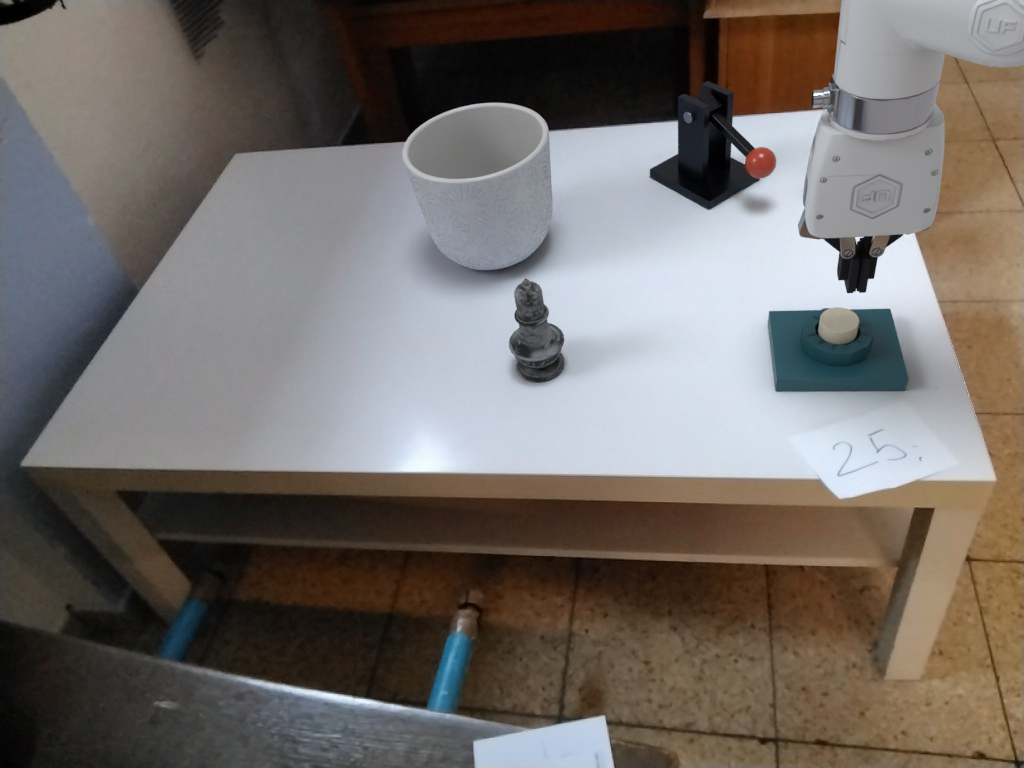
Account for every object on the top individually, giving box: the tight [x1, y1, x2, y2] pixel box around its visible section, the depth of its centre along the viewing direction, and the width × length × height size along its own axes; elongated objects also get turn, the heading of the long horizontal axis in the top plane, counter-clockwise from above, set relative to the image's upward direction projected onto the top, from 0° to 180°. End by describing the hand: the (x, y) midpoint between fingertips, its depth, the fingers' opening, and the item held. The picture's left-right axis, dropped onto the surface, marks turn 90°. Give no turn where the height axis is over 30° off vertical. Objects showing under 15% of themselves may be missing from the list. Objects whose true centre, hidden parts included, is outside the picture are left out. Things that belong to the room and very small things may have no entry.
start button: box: [818, 306, 859, 345], centre depth 81 cm, size 4×4×2 cm
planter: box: [401, 102, 553, 271], centre depth 99 cm, size 17×17×15 cm
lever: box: [693, 90, 777, 180], centre depth 100 cm, size 13×4×4 cm, turn 35°
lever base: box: [649, 80, 760, 210], centre depth 104 cm, size 11×9×12 cm
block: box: [767, 307, 910, 392], centre depth 83 cm, size 12×10×4 cm
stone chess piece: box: [508, 278, 566, 383], centre depth 85 cm, size 6×6×12 cm
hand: (853, 283), depth 77 cm, fingers closed
